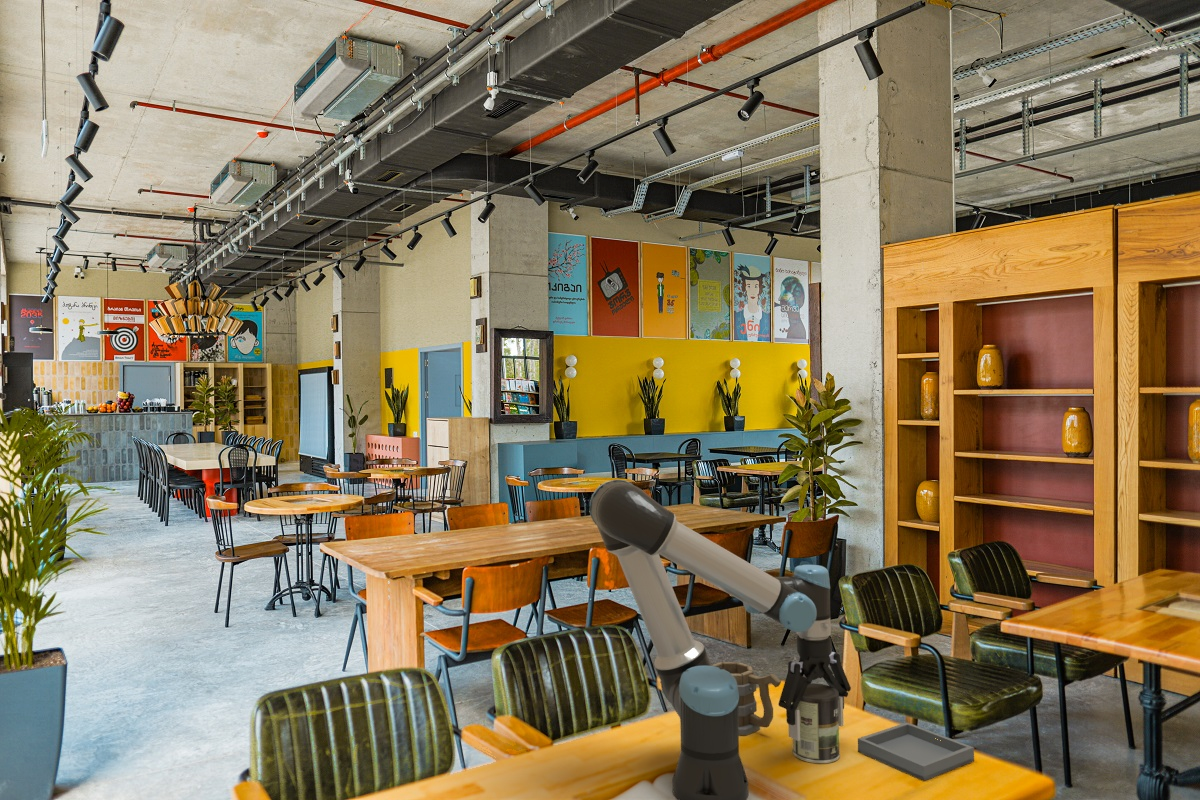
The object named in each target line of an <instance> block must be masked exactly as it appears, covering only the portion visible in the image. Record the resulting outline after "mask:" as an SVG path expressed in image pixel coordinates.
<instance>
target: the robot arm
mask: <svg viewBox="0 0 1200 800" xmlns="http://www.w3.org/2000/svg"><path fill="white" fill-rule="evenodd" d="M589 516H590V518H591V520H592V522H593V523H594V524H595V525H596V527H597V529H598V532H599V534H600V537H601V539H602V541H603V544H604V546H605V549H606V551H607V552H608V553H611V554H613V555H615V556H616V557H617V559H618V562H619V564H620V566H621V570H622V572H623V574H624V577H625V579H626V581H627V584H628V586H629V588H630V591H631V593H632V595H633V598H634V601H635V603H636V606H637V609H638V611H639V613H640V616H641V618H642V621H643V623H644V626H645V627H646V630H647V632H648V634H649V638H650V640H651V642H652V644H653V647H654V649H655V652H656V654H657V655H656V657H655V660H654V663H653V664H654V665H653V666H654V668H655V670H656V673H657V674H658V677H659V682H660V684H661V686H660V687H661V691H662V693H663V694H664V697H665V698H666V700H667V701H668V702H669V703H670V705H671V706H672V708H673V709H674V711H675V713H676V714H677V716H678V717H679V723H680V724H679V725H680V728H679V729H680V753H679V756H678V760H677V765H676V768H675V772H674V773H673V777H672V793H673V795H674V797H676V799H678V800H747V799H748V798H749V780H748V778H747V775H746V771H745V767H744V764H743V762H742V759H741V756H740V747H739V746H740V745H739V744H740V743H739V742H740V741H739V740H740V739H739V737H740V736H739V723H738V702H739V692H738V687H737V682H736V679H735V678H734V676H733V675H732V674H731V673H729V672H728V671H726V670H724V669H720V668H718V667H714V666H712V665H713V664H712V663H711V660H710V658H709V657H710V656H709V655H708V652H707V651H706V649H705V645H704V644H703V643H702V642H701V641H698V640H695V639H694V636H693V635H692V631H691V630H690V628H689V627H690V626H689V625H688V623H687V620H686V618H685V615H684V613H683V609H682V607H681V605H680V603H679V601H678V598H677V596H676V593H675V591H674V588H673V586H672V583H671V580H670V577H669V576H668V574H667V571H666V568H665V566H664V564H663V561H662V559H661V557H663V558H665V559H667V560H669V561H670V562H672V563H674V564H675V565H677V566H679V567H680V568H683V569H684V570H686V571H688V572H689V573H691V574H693V575H695V576H696V577H698V578H700V579H702V580H704V581H706V582H707V583H709V584H711V585H712V586H715V587H716V588H719V590H722V591H723V592H725V593H727V594H728V595H730V596H732V597H734V598H735V599H737V600H739V601H741V602H742V604H743V608H744V609H745V611H746V612H747V613H749V614H758V615H760V614H764V615H765V616H766V617H768V618H769V619H772V620H774V621H775V622H777V623H778V624H780V625H782V626H783V627H784V628H785V629H787V630H790V631H792V632H795V633H796V635H797V636H796V651H797V653H798V655H799V656H798V657H799V659H798V661H797V662H796V661H791V660H790V661H789V662H788V668H787V675H786V677H785V681H784V684H783V687H782V691H781V693H780V698H779V700H778V707H780V708H782V709H784V710H786V711H785V712H786V716H785V717H786V724H788V738H791V739H792V740H793V739H794V740H797V741H800V713H799V710H798V709H797V707H798V705H799V702H800V700H801V698H802V696H803V694H804V692H805V690H806V688H807V686H808V684H810V683H813V681H817V679H822V678H823V680H824V681H825V682H826V685H828V686H831V687H833V688H835V689H837V690H838V692H839V696H838V713H839V727H844V709H845V698H847V697H849V692H850V691H852V688H851V687H852V686H851V685H850V683H849V680H848V677H847V675H846V673H845V670H844V668H843V666H842V663H841V655H840V654H839V653H837V652H834V651H832V649H833V648H832V638H831V637H830V636H831V634H832V632H831V631H832V628H831V626H832V625H831V623H832V622H831V584H830V573H829V570H828V569H827V568H826V567H825V566H823V565H818V564H802V565H796V566H795V568H794V573H793V575H790V576H778V577H777V576H775V577H774V576H773V575H771V574H769V573H767V572H766V571H764V570H762V569H760V568H758V567H757V566H755V565H753V564H752V563H749V562H748V561H746V560H745V559H743V558H742V557H739V556H738V555H736V554H734V553H733V552H731V551H729V550H728V549H725V548H724V547H722V546H721V545H719V544H717V543H716V542H714V541H712V540H710V539H709V538H707V537H705V536H704V535H702V534H700V533H698V532H696V531H695V530H693V529H691V528H690V527H688V526H686V525H685V524H682V523H681V522H679V521H678V520H677V517H676V514H675V513H673V512H672V511H670V510H669V509H667V508H665V507H664V506H663V505H661V504H660V503H658V502H657V501H656V500H655V499H653V498H652V497H651V496H650V495H649V494H647V493H646V492H645V491H644V490H643V489H642V488H640V487H638V486H636V485H634V484H633V483H631V482H629V481H626V480H624V479H612V480H608V481H605V482H603V483H602V484H601V485H598V487H597V488H596V489H595V490H594V492H593V493H592V495H591V497H590V500H589ZM829 666H830V667H829ZM792 702H793V704H792Z"/></svg>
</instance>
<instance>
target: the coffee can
mask: <svg viewBox="0 0 1200 800" xmlns="http://www.w3.org/2000/svg"><path fill="white" fill-rule="evenodd" d="M838 696H839V692H838V690H837V689H835V688H833V687H831V686H829V685H828V684H822V683H817V682H816V683H813V682H811V683H810V684H808V686H807V688H806V690H805V692H804V694H803V696H802V698H801V700H800V702H799V705H798V707H797V709H798V710H799V713H800V741H797V740H794V739H792V754H793V756H794V757H796V759H798V760H801V761H803V762H807V763H810V764H811V763H812V764H830V763H835V762H837V761H838V760H839V759H840V757H841V755H840V726H839V713H838ZM792 704H793V702H792Z"/></svg>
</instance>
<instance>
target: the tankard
mask: <svg viewBox="0 0 1200 800" xmlns="http://www.w3.org/2000/svg"><path fill="white" fill-rule="evenodd" d="M711 665H712V666H714V667H718V668H720V669H724V670H726V671H728V672H729V673H731V674H732V675H733V676H734V678H735V679H736V682H737V687H738V692H739V702H738V723H739V735H746V736H748V734H749V735H751V734H753V733H754V732H755V733H756V732H758V731H759V730H761V728H769V727H770V725H771V722H772V721H773V719H774V707H773V703H772V700H771V696H770V688H769V684H771V685H772V686H774V688H778V687H780V685H781V683H782V681H781V680H780V678H778V677H777V675H775V674H774V673H771V674H768V675H764V676H759V675H758V676H757V675H754V670H753V667H752V666H751V665H749V664H746V663H742V662H739V661H738V662H737V661H721V662H716V663H713V664H711ZM757 685H758V688H759V689H758V691H759V698H760V701H761V704H762V708H763V715H762V717H761V716H758V715H757V714H755V713H757V710H758V709H757V705H758V703H757V701H756V698H755V695H754V693H756V692H757ZM750 733H751V734H750Z"/></svg>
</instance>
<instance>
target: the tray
mask: <svg viewBox="0 0 1200 800" xmlns="http://www.w3.org/2000/svg"><path fill="white" fill-rule="evenodd" d="M935 738H936V739H935ZM937 739H938V740H937ZM940 740H941V741H940ZM857 753H859V754H862V755H864V756H866V757H868V758H870V757H871V758H870V759H873V760H875V759H876V760H875V761H877V760H878V761H877V762H879V761H880V762H879V763H882V764H884V765H887V766H888V765H889V766H888V767H890V768H894V769H896V770H897V771H900V772H901V773H904V772H905V774H907V773H908V774H907V775H909V774H910V775H909V776H911V775H912V776H911V777H913V776H914V778H916V779H918V780H920V779H921V781H922V780H923V782H925V780H926V781H928V780H931V779H934V778H936V777H938V776H941V775H943V774H946V773H949V772H951V771H953V770H956V769H959V768H961V767H964V766H966V765H969V764H972V763H973V762H975V747H973V746H971V745H969V744H965V743H963V742H960V741H958V740H955V739H953V738H950V737H947V736H944V735H942V734H940V733H936V732H933V731H931V730H928V729H926V728H923V727H922V726H921V727H920V726H918V725H915V724H913V723H909V722H908V721H907V722H903V723H901V724H898V725H895V726H891V727H889V728H886V729H883V730H879V731H876V732H874V733H871V734H867V735H865V736H861V737H858V738H857Z"/></svg>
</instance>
